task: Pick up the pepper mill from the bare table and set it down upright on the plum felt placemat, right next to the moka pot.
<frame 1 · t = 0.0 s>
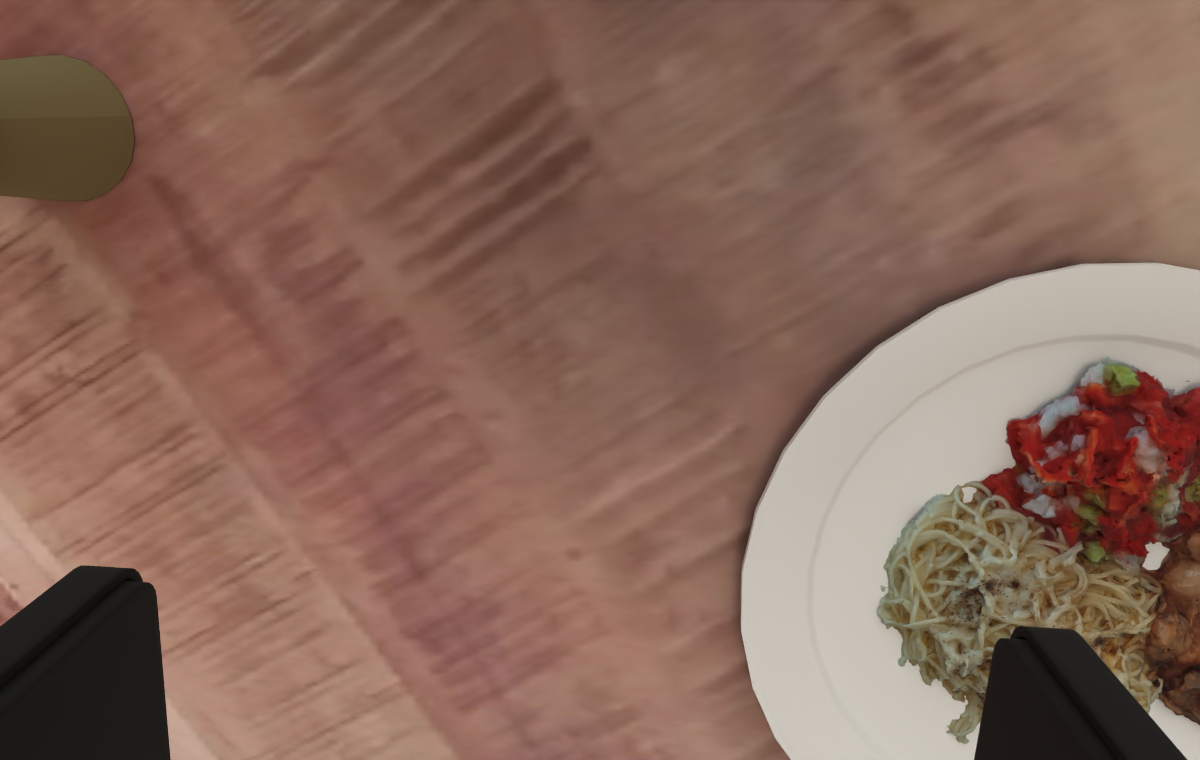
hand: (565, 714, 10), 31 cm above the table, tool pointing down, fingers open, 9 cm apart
pepper mill: (67, 129, 40), on the table
plated food: (1062, 580, 43), on the table
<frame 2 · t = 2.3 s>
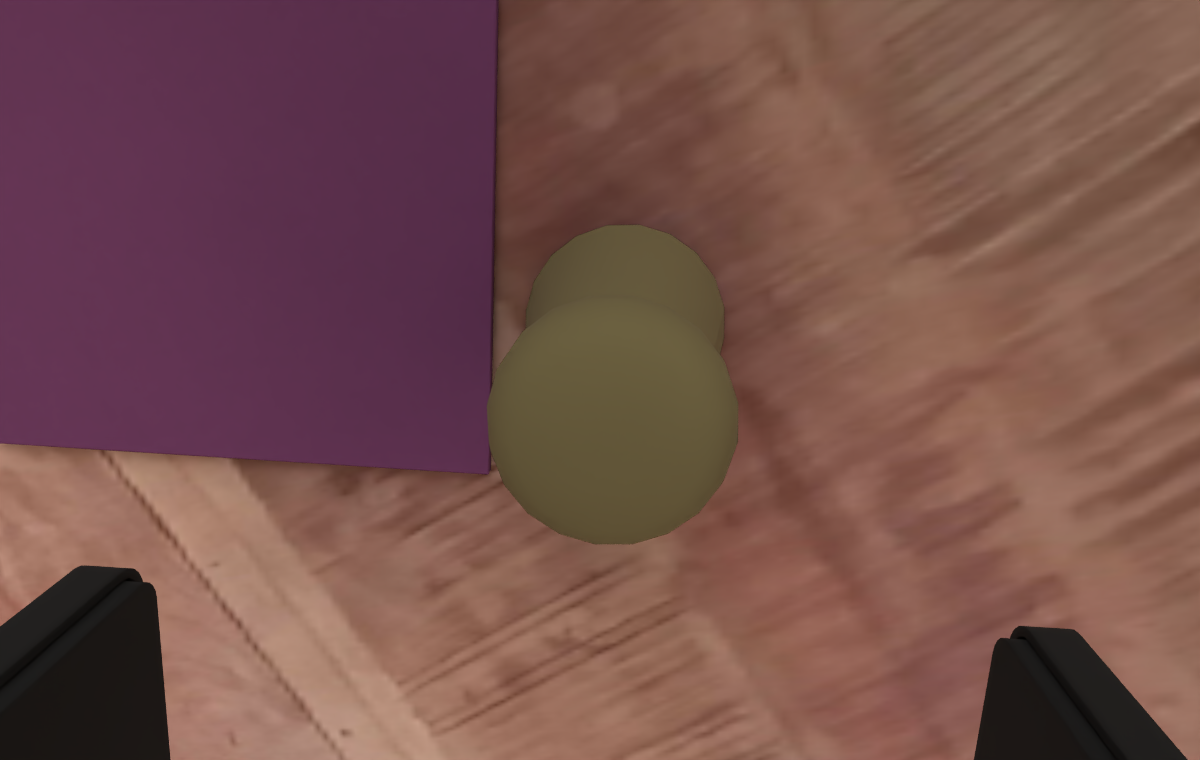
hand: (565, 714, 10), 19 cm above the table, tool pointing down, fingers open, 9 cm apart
placemat: (224, 133, 28), on the table
pepper mill: (624, 323, 29), on the table
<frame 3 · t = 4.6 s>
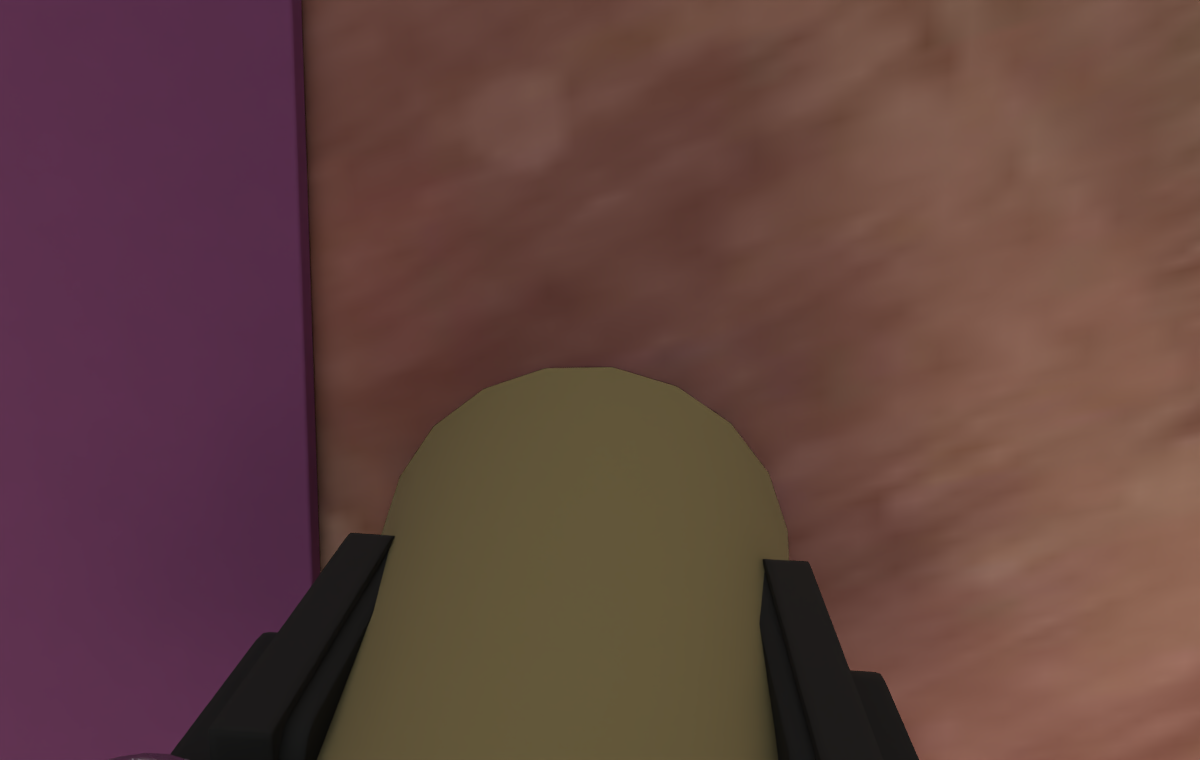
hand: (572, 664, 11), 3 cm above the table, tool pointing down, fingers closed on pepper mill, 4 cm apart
pepper mill: (586, 555, 14), on the table, touching gripper
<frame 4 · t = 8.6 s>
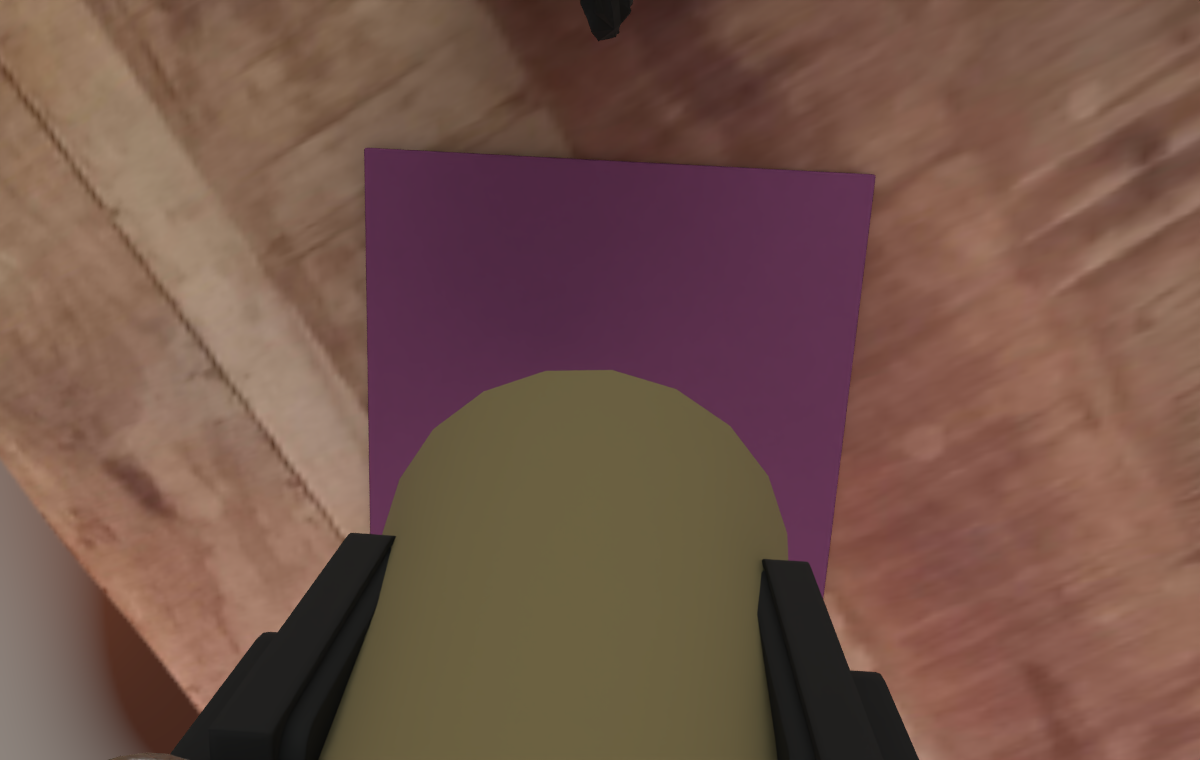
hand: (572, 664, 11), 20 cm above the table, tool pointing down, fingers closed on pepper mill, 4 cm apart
placemat: (602, 459, 32), on the table
pepper mill: (585, 557, 14), point 17 cm above the table, touching gripper
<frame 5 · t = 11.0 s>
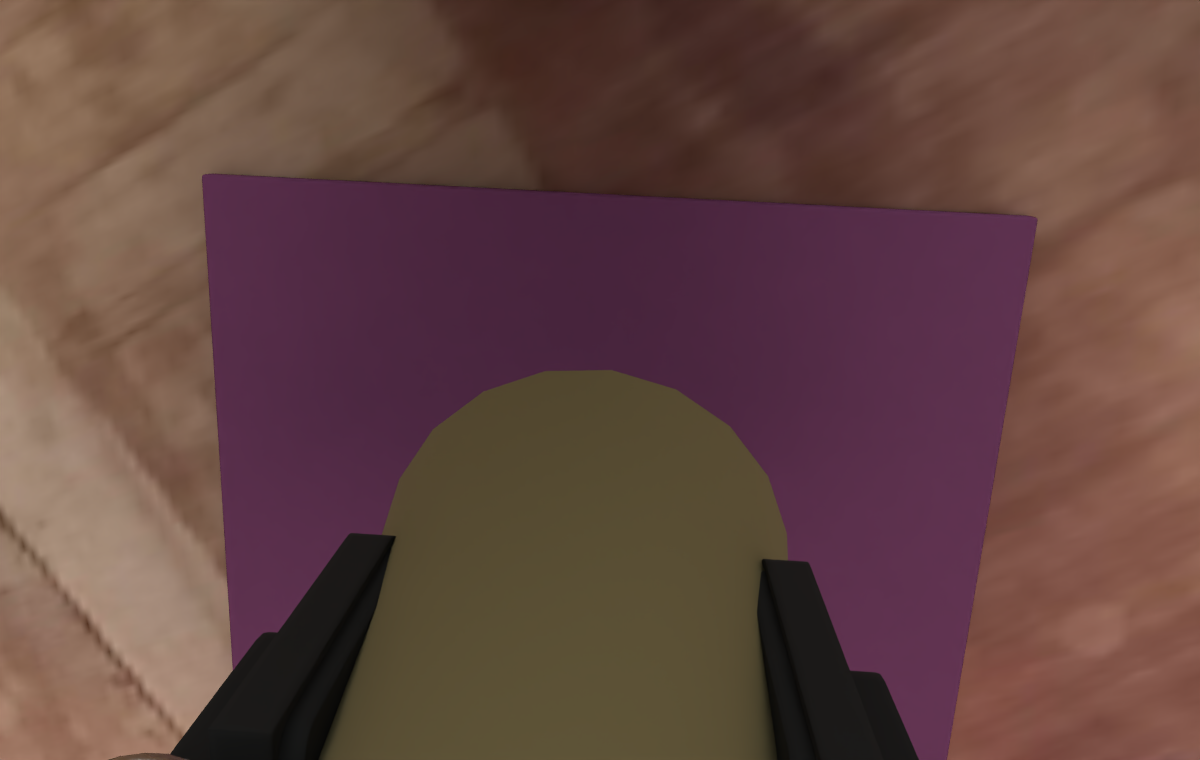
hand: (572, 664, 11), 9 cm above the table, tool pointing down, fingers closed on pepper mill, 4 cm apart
placemat: (591, 650, 21), on the table
pepper mill: (585, 557, 14), point 6 cm above the table, touching gripper
when the fingers open (3 cm above the table, at t = 12.6 s): pepper mill stays where it is, resting on placemat.
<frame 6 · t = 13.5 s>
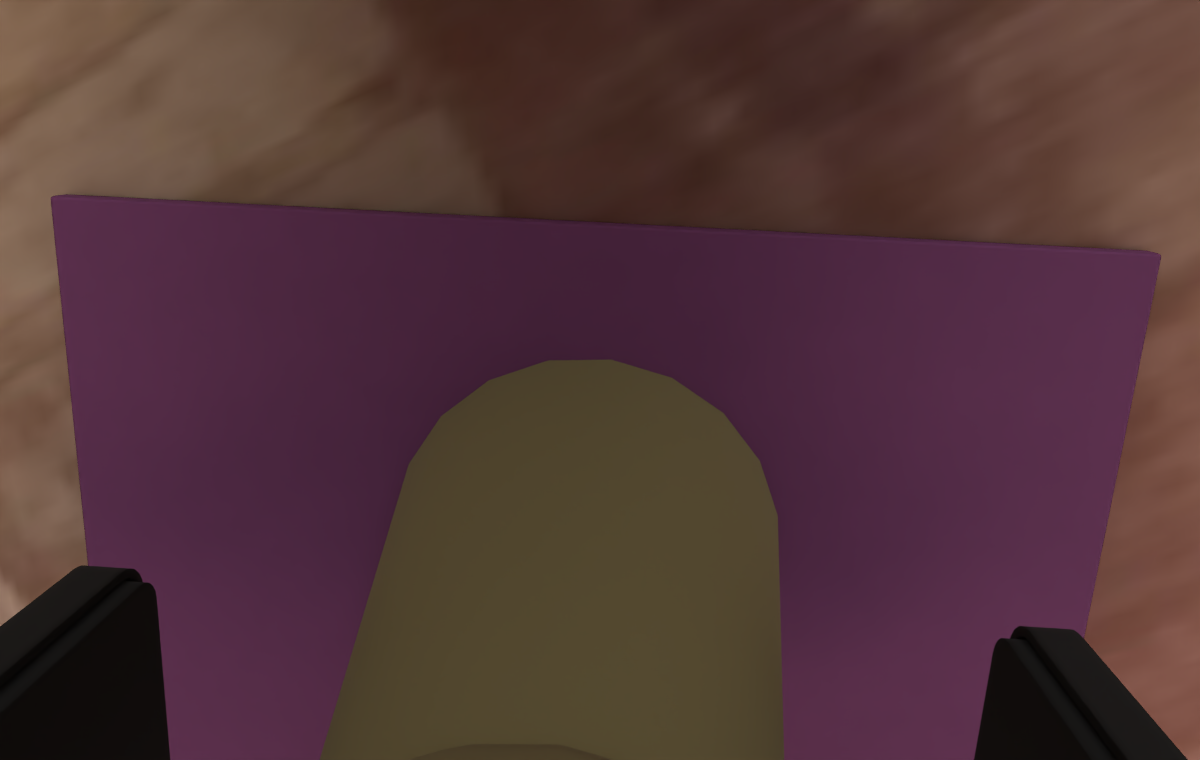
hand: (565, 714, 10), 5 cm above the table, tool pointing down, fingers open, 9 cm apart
pepper mill: (586, 539, 15), resting on placemat
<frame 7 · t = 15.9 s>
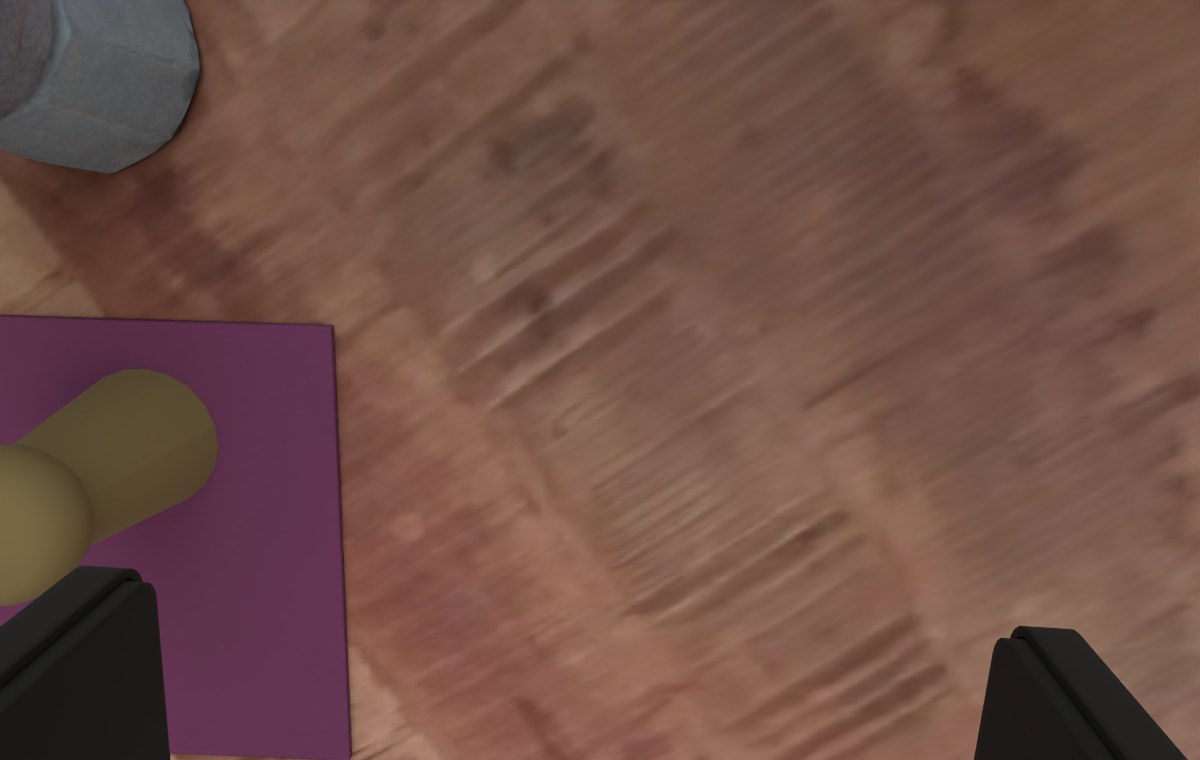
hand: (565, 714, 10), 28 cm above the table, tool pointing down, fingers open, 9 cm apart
placemat: (160, 546, 41), on the table
pepper mill: (148, 437, 39), resting on placemat
moka pot: (99, 62, 36), on the table
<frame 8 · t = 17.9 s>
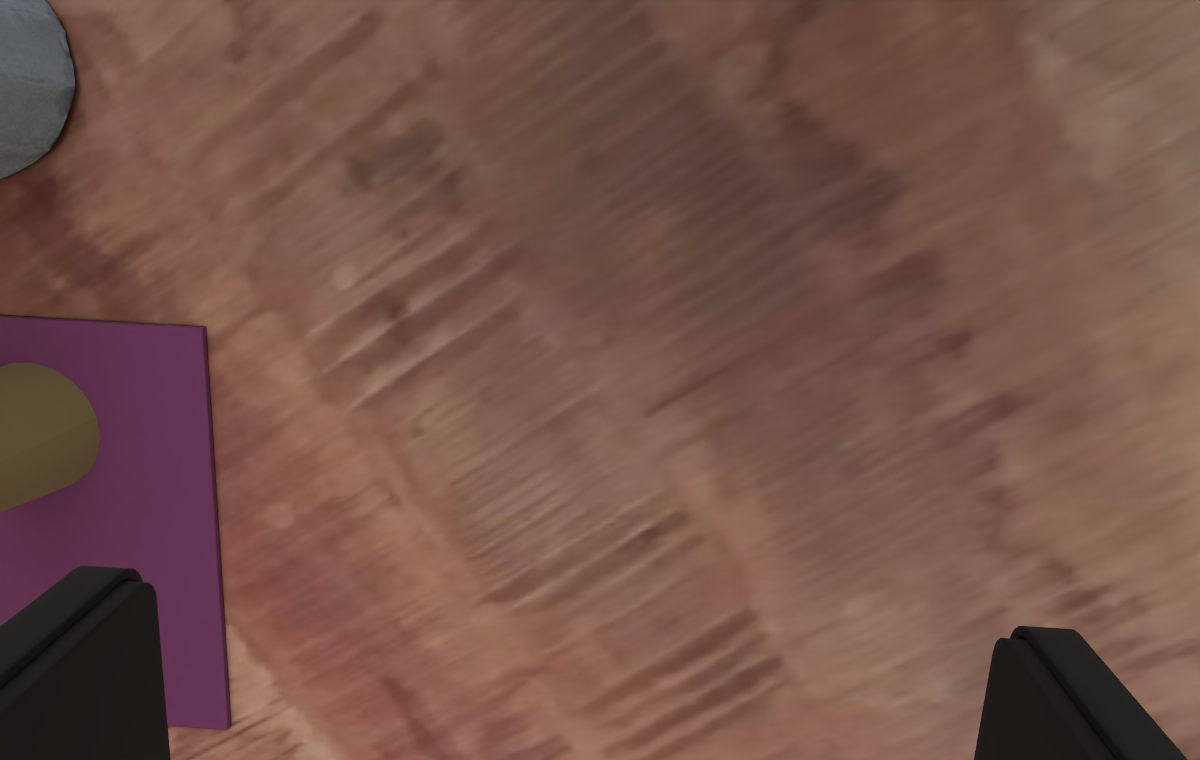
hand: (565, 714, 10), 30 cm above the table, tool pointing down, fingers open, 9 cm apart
placemat: (50, 527, 44), on the table
pepper mill: (36, 426, 42), resting on placemat
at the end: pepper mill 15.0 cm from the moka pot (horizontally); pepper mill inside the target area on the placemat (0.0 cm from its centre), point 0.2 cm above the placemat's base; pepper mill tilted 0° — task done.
